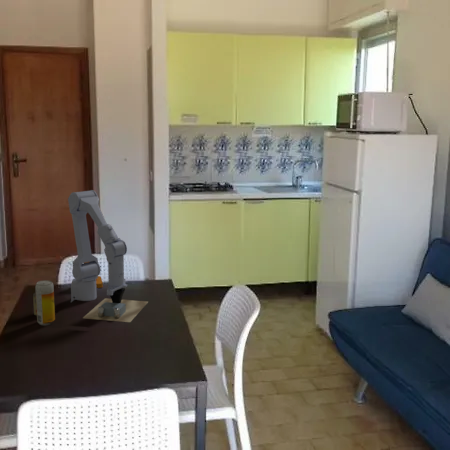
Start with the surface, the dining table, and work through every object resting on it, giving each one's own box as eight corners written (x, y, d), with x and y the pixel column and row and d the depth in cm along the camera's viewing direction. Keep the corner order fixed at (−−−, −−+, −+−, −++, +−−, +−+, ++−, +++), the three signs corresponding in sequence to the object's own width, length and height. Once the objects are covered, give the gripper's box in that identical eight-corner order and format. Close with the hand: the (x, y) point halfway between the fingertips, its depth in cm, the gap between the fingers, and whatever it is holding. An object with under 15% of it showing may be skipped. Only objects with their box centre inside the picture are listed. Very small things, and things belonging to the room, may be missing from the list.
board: (82, 321, 205) (82, 318, 205) (105, 301, 226) (105, 298, 226) (130, 325, 202) (130, 322, 202) (148, 304, 224) (148, 301, 223)
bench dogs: (97, 317, 206) (97, 308, 205) (99, 315, 208) (99, 306, 207) (118, 319, 205) (118, 309, 204) (120, 317, 207) (120, 307, 206)
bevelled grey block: (99, 315, 208) (99, 307, 207) (105, 309, 214) (105, 302, 213) (120, 317, 207) (120, 309, 206) (125, 311, 213) (125, 303, 212)
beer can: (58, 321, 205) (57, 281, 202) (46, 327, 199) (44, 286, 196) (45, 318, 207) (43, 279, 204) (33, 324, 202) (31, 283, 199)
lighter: (32, 315, 210) (31, 290, 207) (35, 312, 213) (33, 286, 211) (52, 315, 210) (51, 289, 208) (54, 311, 214) (53, 286, 212)
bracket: (103, 289, 241) (102, 262, 238) (85, 290, 239) (84, 263, 236) (100, 281, 251) (99, 255, 248) (83, 283, 249) (82, 256, 246)
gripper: (119, 279, 204) (120, 315, 206) (132, 268, 218) (133, 301, 220) (101, 278, 205) (102, 313, 207) (115, 267, 219) (115, 300, 221)
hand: (116, 307), depth 214 cm, fingers closed
